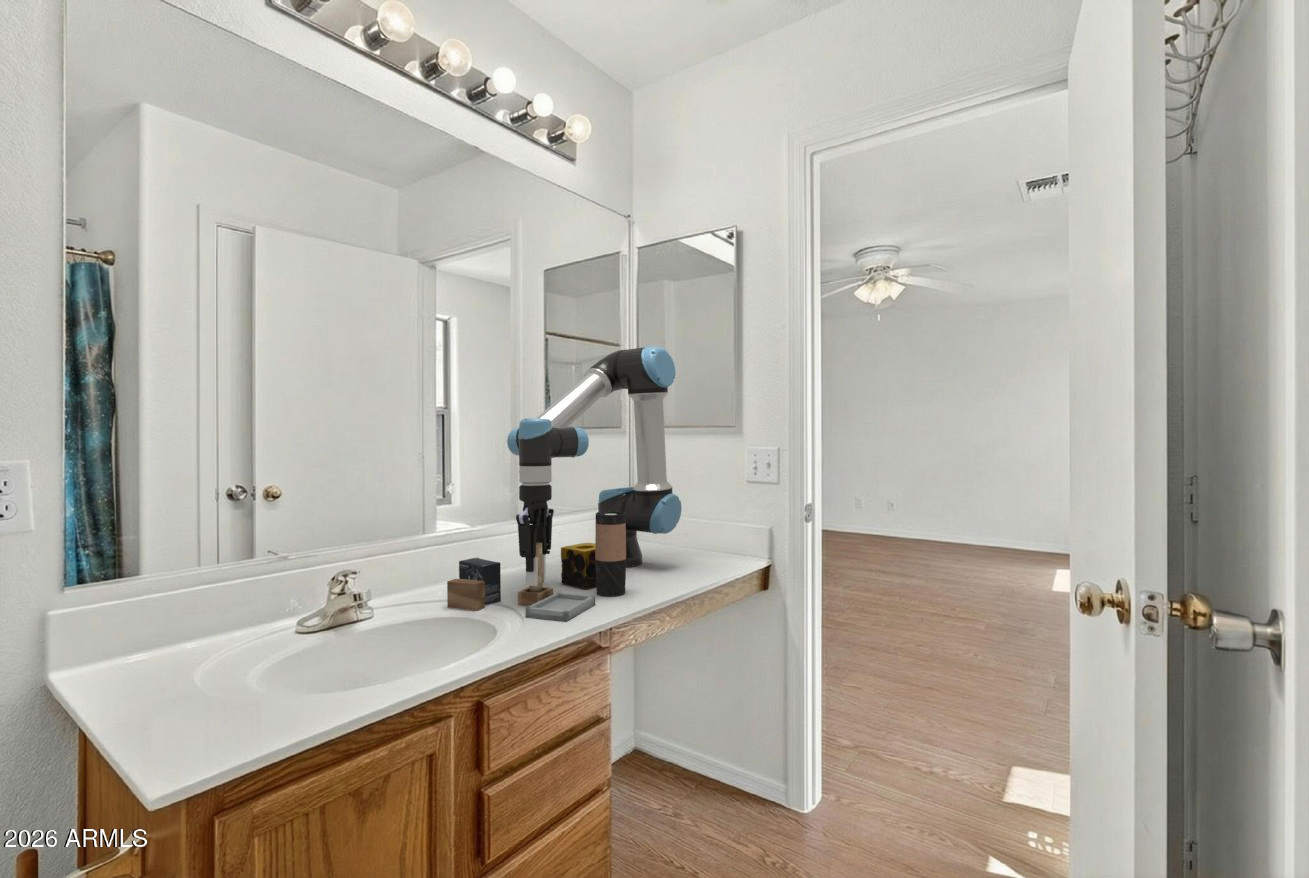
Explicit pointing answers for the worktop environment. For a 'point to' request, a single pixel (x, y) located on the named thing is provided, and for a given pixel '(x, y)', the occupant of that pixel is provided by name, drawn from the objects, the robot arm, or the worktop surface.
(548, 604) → the tray
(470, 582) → the wooden block
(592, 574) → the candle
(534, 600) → the socket
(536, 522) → the robot arm
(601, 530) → the travel mug
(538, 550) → the dowel
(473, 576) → the box
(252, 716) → the worktop surface
